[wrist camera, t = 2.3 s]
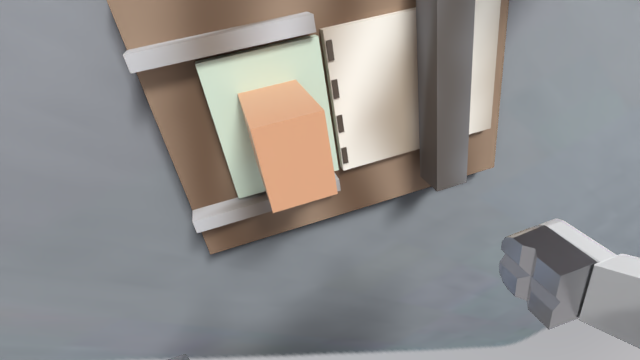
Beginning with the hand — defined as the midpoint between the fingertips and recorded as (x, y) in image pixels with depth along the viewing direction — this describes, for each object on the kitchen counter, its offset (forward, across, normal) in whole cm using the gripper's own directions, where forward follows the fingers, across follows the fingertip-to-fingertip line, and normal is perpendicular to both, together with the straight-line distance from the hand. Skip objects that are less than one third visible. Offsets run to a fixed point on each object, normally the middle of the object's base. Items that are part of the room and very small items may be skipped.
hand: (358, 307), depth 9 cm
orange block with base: (+13, -1, 0) cm, 13 cm away
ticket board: (+15, -5, 0) cm, 16 cm away
